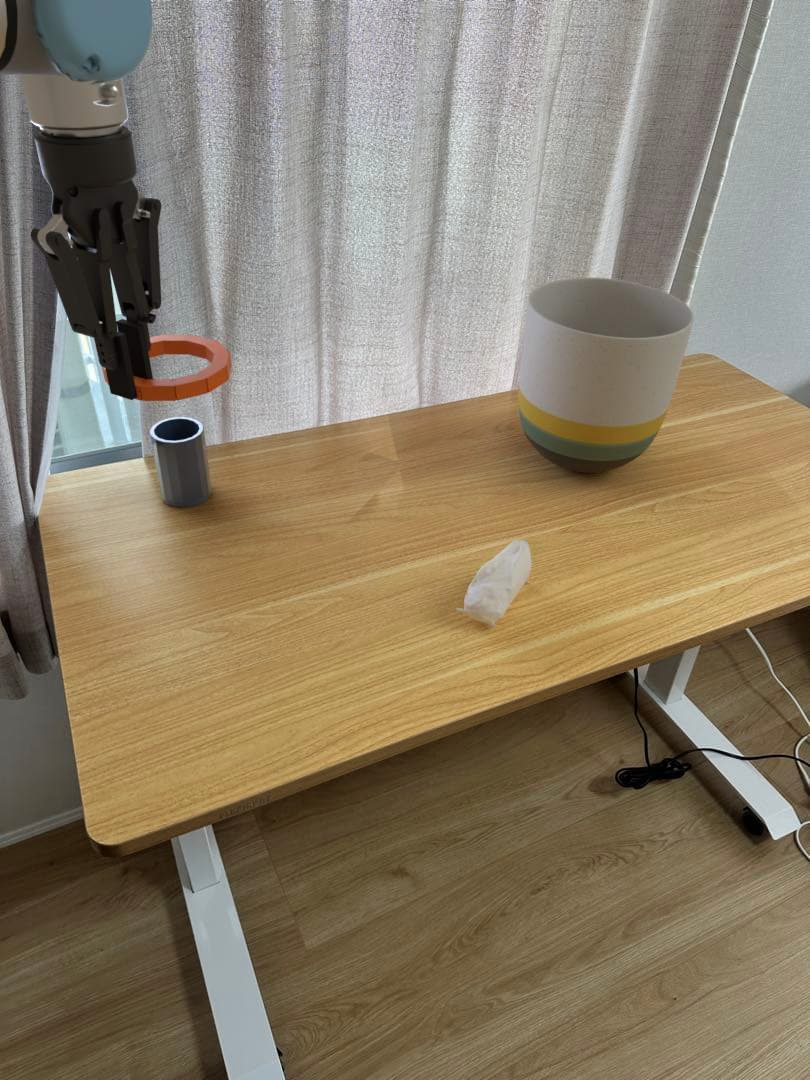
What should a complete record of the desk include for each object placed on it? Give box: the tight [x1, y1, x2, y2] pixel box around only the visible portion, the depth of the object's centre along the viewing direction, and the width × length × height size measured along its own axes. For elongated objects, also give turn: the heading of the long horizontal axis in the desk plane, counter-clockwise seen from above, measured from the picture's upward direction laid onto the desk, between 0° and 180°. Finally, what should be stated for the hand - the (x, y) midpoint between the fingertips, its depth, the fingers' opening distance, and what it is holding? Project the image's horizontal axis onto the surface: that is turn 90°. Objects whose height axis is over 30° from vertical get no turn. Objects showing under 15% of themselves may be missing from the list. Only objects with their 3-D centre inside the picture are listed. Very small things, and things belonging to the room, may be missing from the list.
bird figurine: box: [455, 538, 533, 628], centre depth 84 cm, size 5×7×10 cm
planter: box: [517, 277, 695, 474], centre depth 103 cm, size 20×20×21 cm
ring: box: [101, 334, 233, 402], centre depth 83 cm, size 12×12×2 cm
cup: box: [149, 416, 212, 509], centre depth 96 cm, size 6×6×9 cm
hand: (132, 389), depth 79 cm, fingers closed on ring, 2 cm apart
